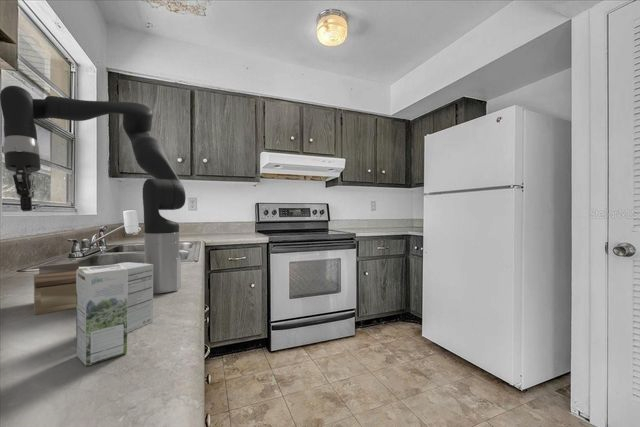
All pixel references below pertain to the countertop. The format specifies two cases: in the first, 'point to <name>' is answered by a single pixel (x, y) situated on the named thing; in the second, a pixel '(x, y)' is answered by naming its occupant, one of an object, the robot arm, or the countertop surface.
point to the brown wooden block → (56, 274)
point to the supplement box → (139, 294)
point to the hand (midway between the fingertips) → (26, 210)
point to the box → (54, 298)
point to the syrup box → (101, 313)
